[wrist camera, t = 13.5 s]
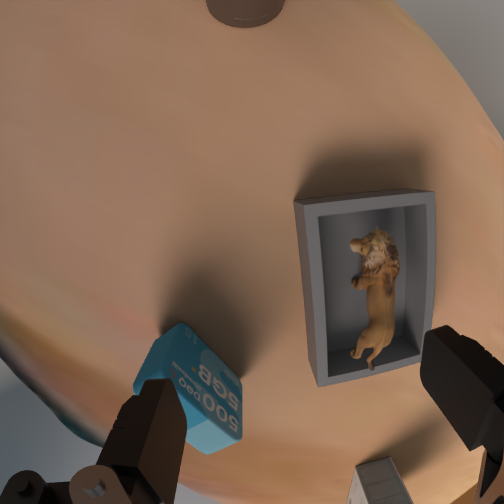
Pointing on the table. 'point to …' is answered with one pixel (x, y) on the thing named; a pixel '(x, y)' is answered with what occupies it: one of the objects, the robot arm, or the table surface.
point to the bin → (349, 267)
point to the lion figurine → (376, 290)
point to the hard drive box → (378, 484)
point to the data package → (197, 387)
